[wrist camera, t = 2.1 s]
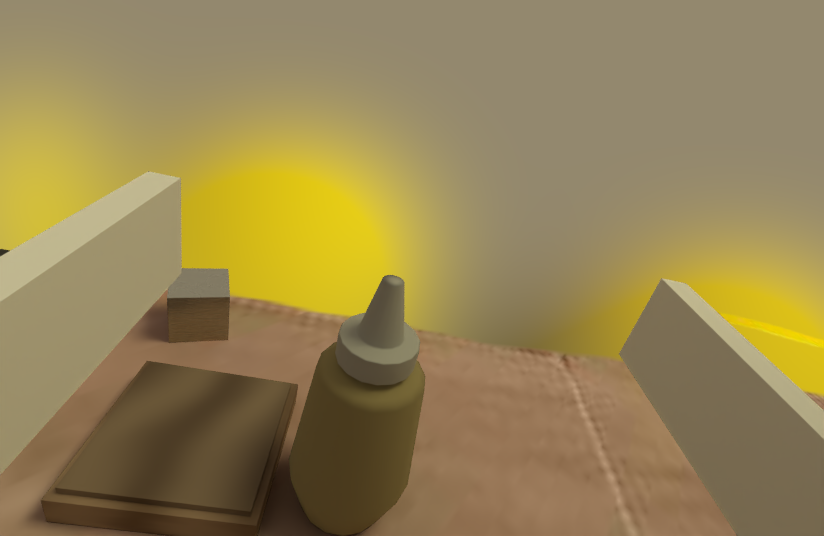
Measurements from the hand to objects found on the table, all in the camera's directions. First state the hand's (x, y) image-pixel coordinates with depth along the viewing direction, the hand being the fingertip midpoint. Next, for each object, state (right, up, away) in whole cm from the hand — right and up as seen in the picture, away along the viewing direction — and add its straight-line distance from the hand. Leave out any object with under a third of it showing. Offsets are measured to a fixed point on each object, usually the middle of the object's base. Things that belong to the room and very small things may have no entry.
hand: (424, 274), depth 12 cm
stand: (-16, -13, +20) cm, 29 cm away
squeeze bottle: (-5, -16, +20) cm, 26 cm away
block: (-21, -5, +32) cm, 39 cm away
